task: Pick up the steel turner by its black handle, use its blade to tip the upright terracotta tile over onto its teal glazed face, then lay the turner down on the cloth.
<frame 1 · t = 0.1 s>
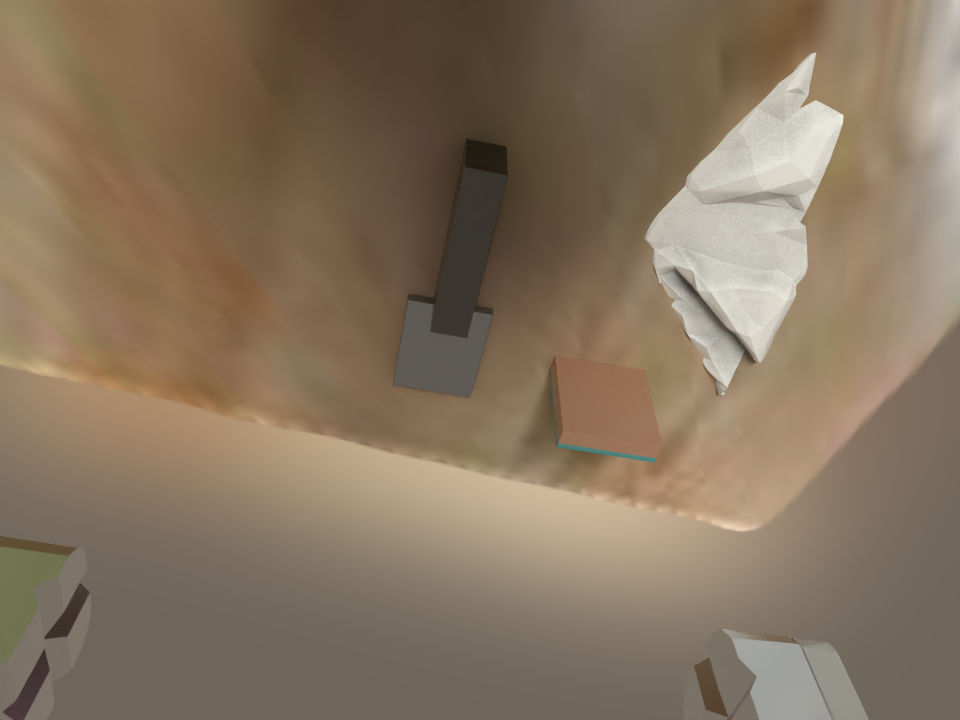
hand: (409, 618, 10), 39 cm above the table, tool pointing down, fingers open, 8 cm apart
turner: (459, 265, 52), on the table
cloth: (740, 239, 51), on the table
tile: (609, 446, 52), point 8 cm above the table
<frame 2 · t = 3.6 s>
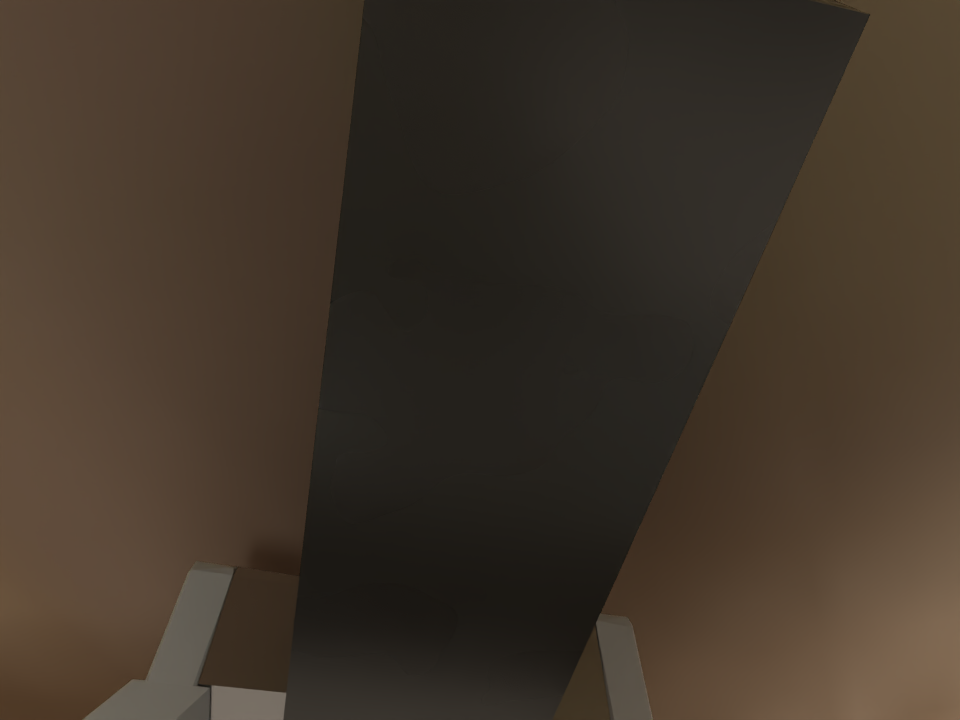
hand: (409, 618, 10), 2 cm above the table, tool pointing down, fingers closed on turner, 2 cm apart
turner: (407, 565, 12), on the table, touching gripper
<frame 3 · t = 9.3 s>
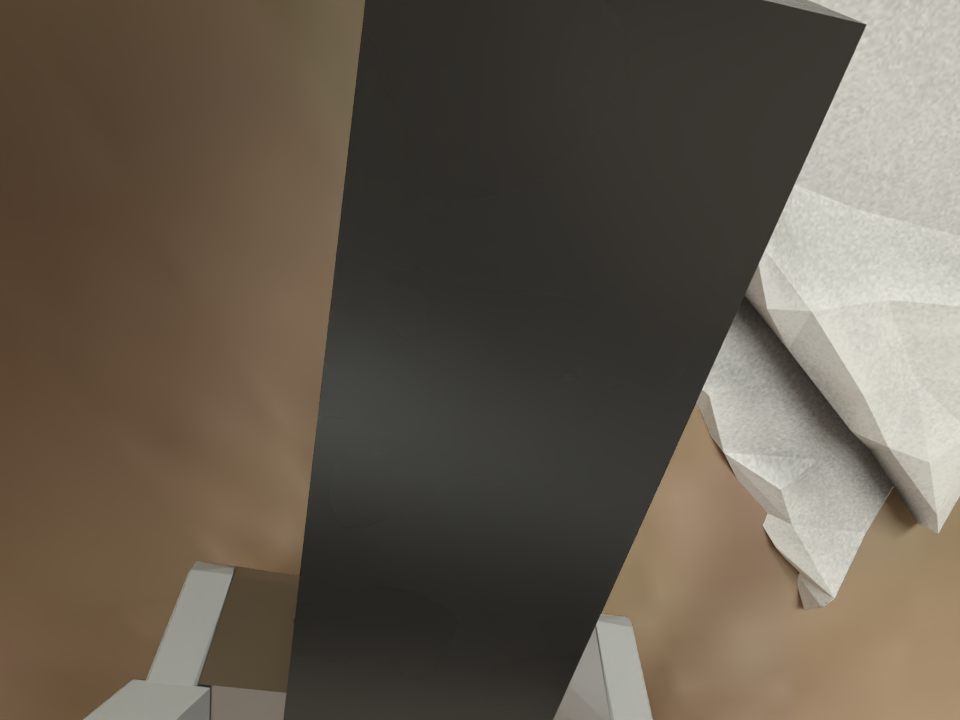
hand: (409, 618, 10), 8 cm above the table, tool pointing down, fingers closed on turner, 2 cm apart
turner: (406, 569, 12), point 6 cm above the table, touching gripper
cloth: (903, 133, 15), on the table
when the fingers open (5 cm above the table, at t = 13.5 s): turner drops 2 cm, resting on cloth.
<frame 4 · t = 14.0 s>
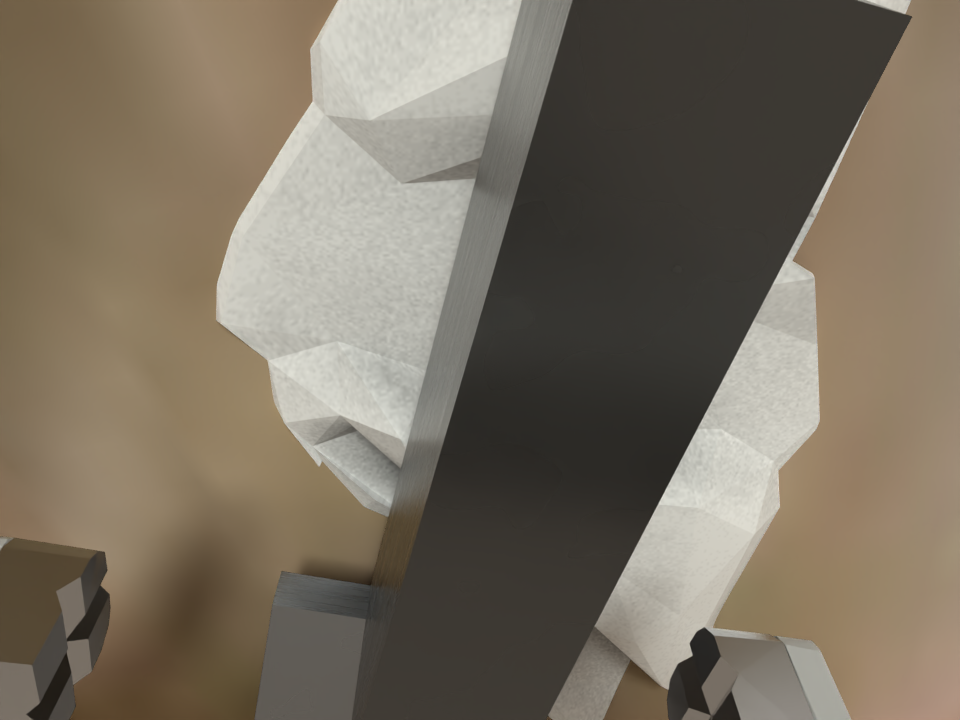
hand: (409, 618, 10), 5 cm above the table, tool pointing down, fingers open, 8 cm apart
turner: (467, 487, 14), point 1 cm above the table, touching cloth
cloth: (583, 322, 15), on the table, touching turner
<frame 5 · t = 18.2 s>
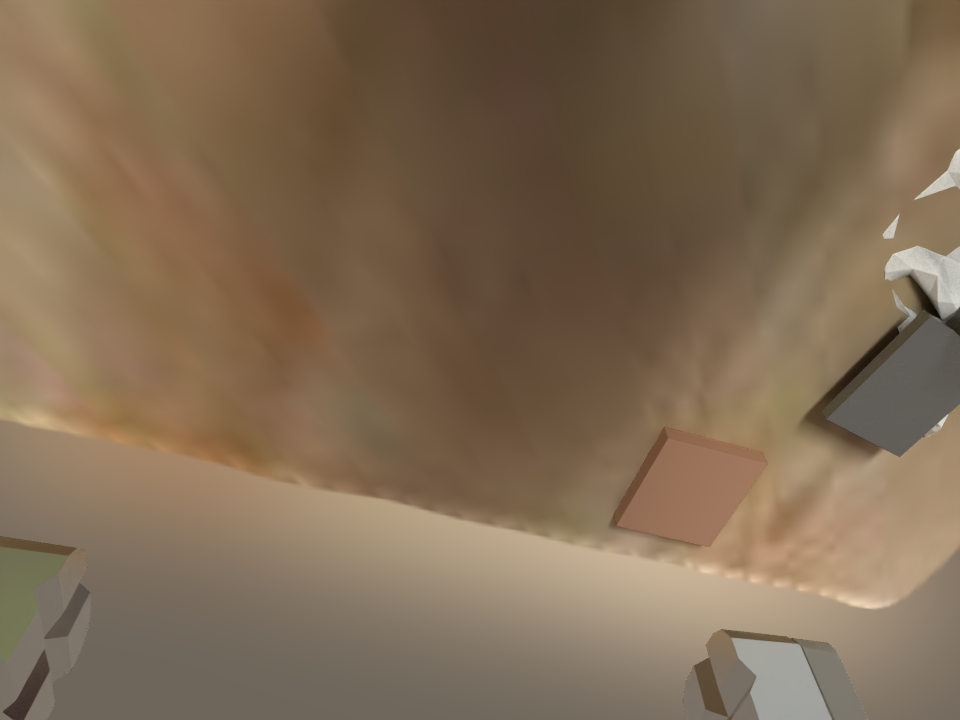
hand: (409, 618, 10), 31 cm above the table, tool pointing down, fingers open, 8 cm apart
tile: (660, 528, 53), on the table, tilted 90°
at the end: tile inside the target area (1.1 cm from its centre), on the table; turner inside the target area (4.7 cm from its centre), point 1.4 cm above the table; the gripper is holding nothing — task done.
